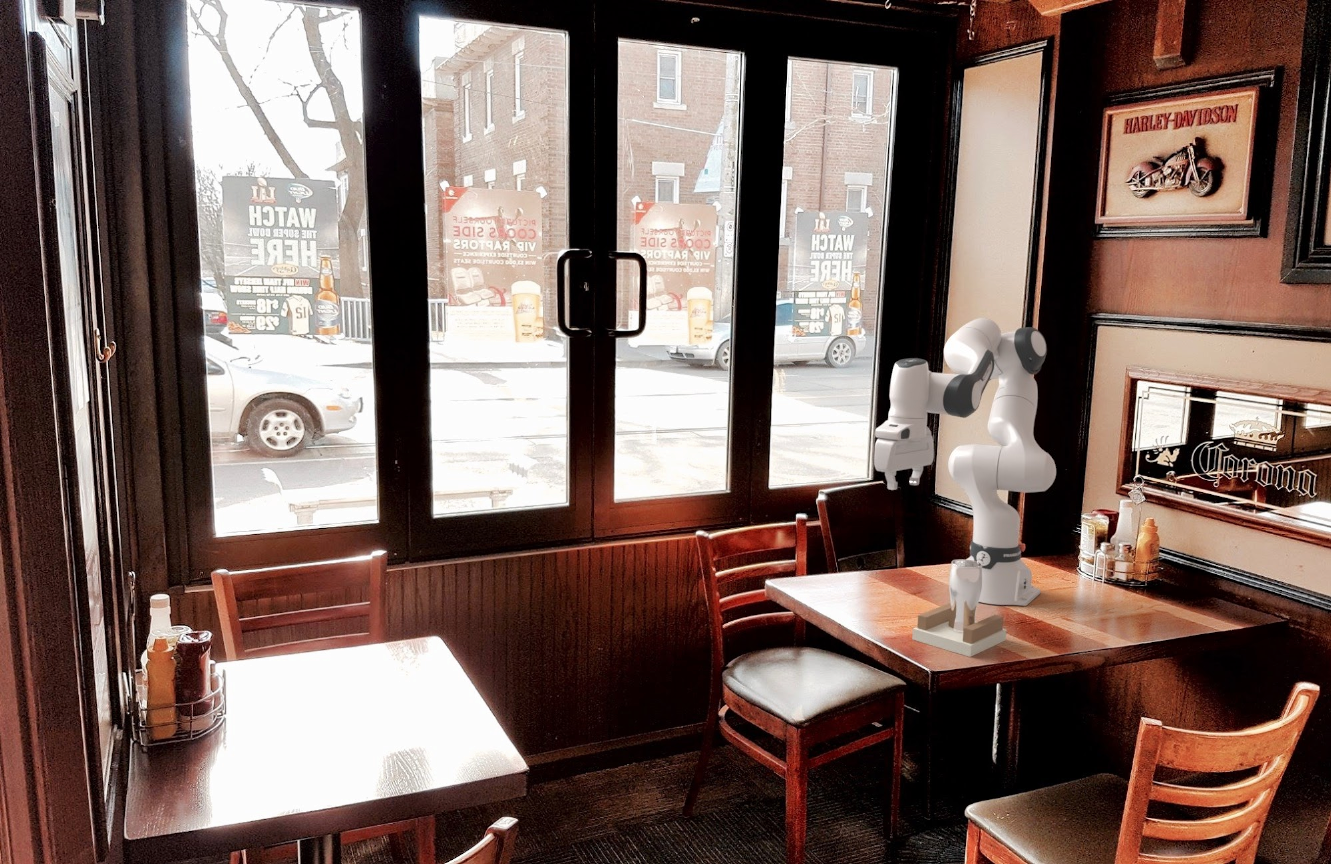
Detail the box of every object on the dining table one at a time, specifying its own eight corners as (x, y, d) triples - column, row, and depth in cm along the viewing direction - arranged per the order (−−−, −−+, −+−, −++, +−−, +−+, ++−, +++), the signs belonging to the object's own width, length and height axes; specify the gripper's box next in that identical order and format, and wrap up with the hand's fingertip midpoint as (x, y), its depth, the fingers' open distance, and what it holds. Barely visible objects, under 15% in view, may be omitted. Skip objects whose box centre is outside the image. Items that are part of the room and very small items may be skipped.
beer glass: (979, 635, 215) (984, 568, 213) (946, 632, 217) (951, 565, 215) (977, 625, 222) (982, 560, 220) (945, 622, 223) (949, 557, 221)
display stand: (949, 624, 230) (950, 601, 229) (1005, 640, 220) (1007, 616, 219) (912, 639, 219) (913, 615, 218) (970, 657, 209) (972, 632, 208)
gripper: (918, 424, 239) (915, 480, 241) (870, 430, 225) (867, 489, 226) (942, 427, 234) (938, 484, 236) (894, 433, 220) (891, 494, 222)
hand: (903, 487), depth 231 cm, fingers open, 8 cm apart
